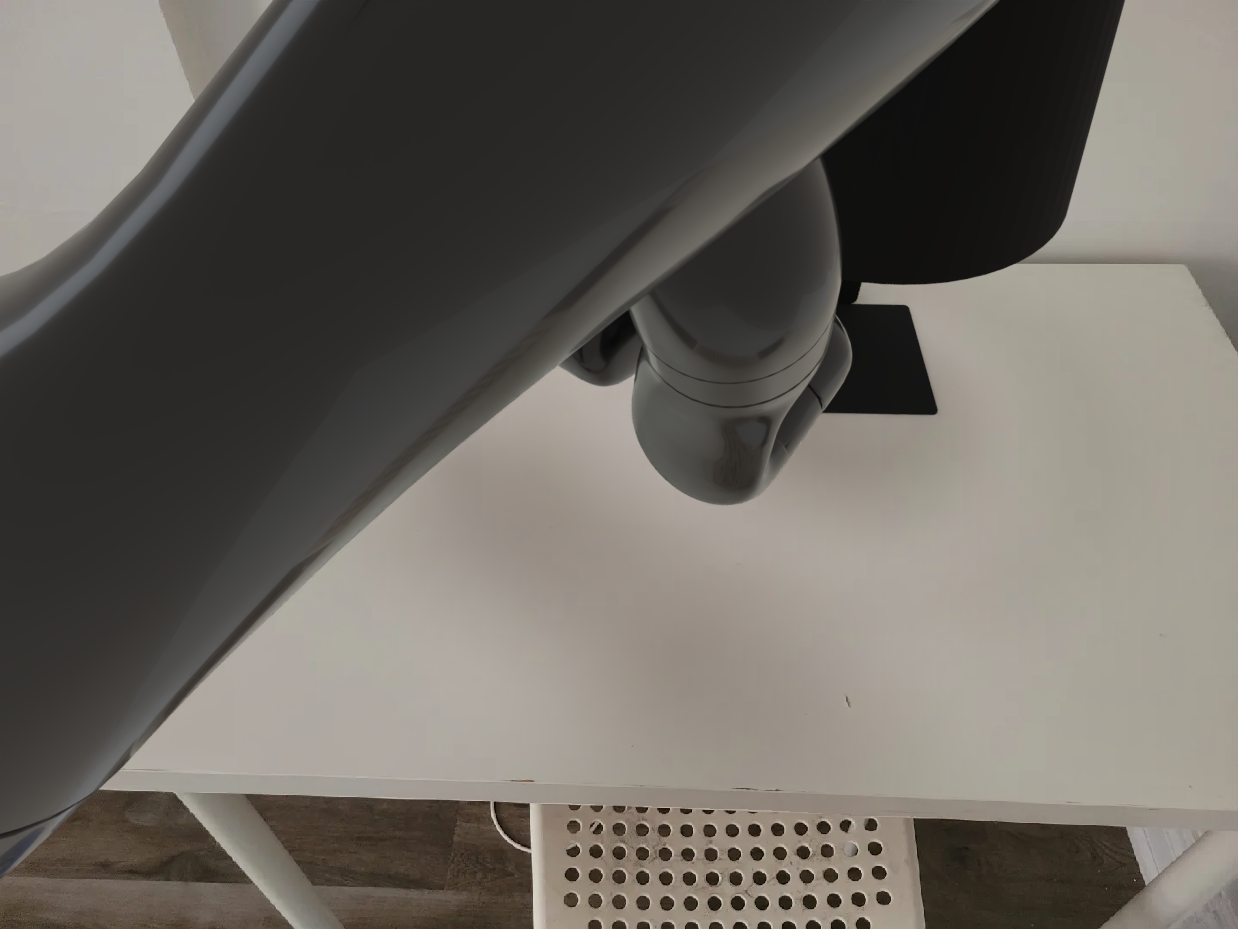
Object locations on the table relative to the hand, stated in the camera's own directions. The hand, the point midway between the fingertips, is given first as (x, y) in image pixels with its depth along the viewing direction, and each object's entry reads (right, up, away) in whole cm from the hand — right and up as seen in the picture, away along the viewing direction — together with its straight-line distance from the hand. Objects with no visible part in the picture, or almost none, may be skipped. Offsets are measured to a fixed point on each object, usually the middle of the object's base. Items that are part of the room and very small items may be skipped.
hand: (316, 146), depth 54 cm
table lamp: (+35, -14, +22) cm, 44 cm away
